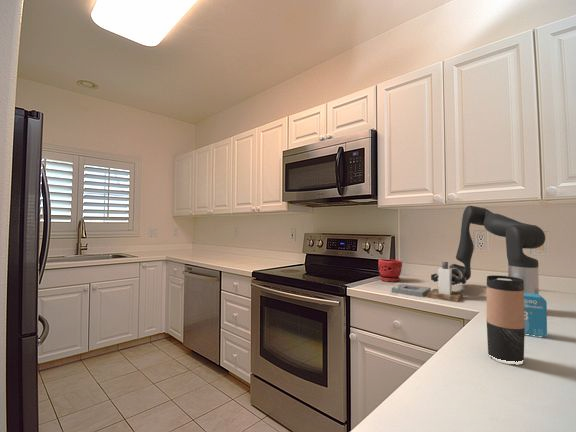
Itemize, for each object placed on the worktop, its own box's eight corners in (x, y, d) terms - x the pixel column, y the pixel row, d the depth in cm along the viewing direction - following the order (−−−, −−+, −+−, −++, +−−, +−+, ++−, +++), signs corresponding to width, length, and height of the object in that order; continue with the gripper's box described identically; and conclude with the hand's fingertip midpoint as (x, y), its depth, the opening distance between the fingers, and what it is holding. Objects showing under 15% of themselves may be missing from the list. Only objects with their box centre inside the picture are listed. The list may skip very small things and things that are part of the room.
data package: (497, 331, 92) (496, 292, 92) (495, 326, 96) (495, 289, 96) (547, 339, 86) (546, 297, 86) (543, 333, 90) (542, 294, 90)
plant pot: (397, 283, 164) (397, 262, 164) (374, 280, 172) (374, 260, 172) (405, 280, 174) (405, 259, 174) (383, 277, 182) (383, 258, 183)
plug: (451, 297, 135) (451, 262, 135) (449, 298, 131) (449, 262, 132) (441, 295, 137) (440, 261, 138) (438, 297, 134) (438, 262, 134)
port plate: (430, 291, 145) (430, 286, 145) (422, 297, 134) (422, 291, 134) (401, 287, 154) (401, 282, 154) (391, 292, 143) (391, 286, 143)
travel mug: (526, 358, 74) (525, 277, 74) (524, 369, 68) (523, 282, 68) (489, 349, 79) (488, 274, 79) (484, 359, 73) (483, 278, 73)
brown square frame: (462, 296, 135) (462, 292, 135) (457, 302, 126) (457, 297, 126) (434, 292, 143) (434, 288, 143) (427, 297, 134) (427, 292, 134)
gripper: (437, 267, 151) (428, 270, 139) (469, 270, 142) (462, 274, 130) (437, 281, 151) (428, 286, 139) (469, 285, 142) (462, 291, 129)
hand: (444, 280), depth 134 cm, fingers open, 8 cm apart
